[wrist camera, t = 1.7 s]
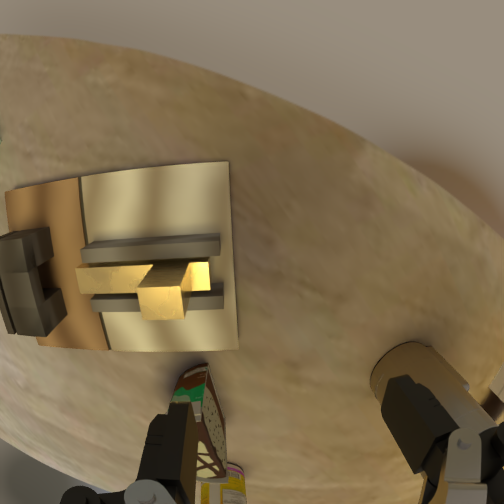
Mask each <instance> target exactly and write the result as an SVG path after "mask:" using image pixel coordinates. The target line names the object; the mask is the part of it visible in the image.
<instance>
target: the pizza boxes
mask: <svg viewBox="0 0 504 504" xmlns="http://www.w3.org/2000/svg"><path fill="white" fill-rule="evenodd" d="M489 388H490V389H491V390H492V391H493V392H494V393H495V394H496V395H497V396H498V397H499V398H500V399H501V401H502V402H503V403H504V362H503V364H502V366H501V367H500V369H499V371H498V372H497V374H496V376H495V377H494V379H493V381H492V382H491V384H490V385H489ZM498 426H499V425H498Z"/></svg>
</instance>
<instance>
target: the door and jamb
mask: <svg viewBox="0 0 504 504" xmlns="http://www.w3.org/2000/svg"><path fill="white" fill-rule="evenodd" d="M5 201H6V210H7V218H8V225H9V232H10V233H7V234H5V235H2V236H0V310H1V314H2V317H3V320H4V323H5V326H6V329H7V331H8V334H15V333H16V332H17V334H18V335H26V336H36V339H37V342H38V344H39V345H41V346H51V347H62V348H75V349H90V350H109V349H110V350H112V351H146V352H177V351H215V350H235V349H239V346H238V331H237V315H236V299H235V283H234V265H233V247H232V228H231V207H230V185H229V162H228V161H226V162H209V163H194V164H182V165H170V166H160V167H150V168H141V169H132V170H124V171H117V172H109V173H102V174H96V175H89V176H83V177H77V178H71V179H65V180H60V181H54V182H49V183H44V184H39V185H34V186H29V187H24V188H20V189H15V190H11V191H7V192H5ZM209 256H210V264H211V276H212V282H211V289H210V290H200V291H192V294H191V297H190V301H189V305H188V308H187V312H186V316H185V319H176V320H142V315H141V310H140V305H139V299H138V294H137V293H106V294H80V290H79V286H78V281H77V276H76V271H75V268H76V267H78V266H79V265H80V264H82V263H95V262H115V261H134V260H153V259H172V258H190V257H209Z"/></svg>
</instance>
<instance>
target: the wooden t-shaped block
mask: <svg viewBox="0 0 504 504" xmlns="http://www.w3.org/2000/svg"><path fill="white" fill-rule="evenodd" d="M75 271H76V276H77V281H78V286H79V290H80V294H106V293H137V294H138V299H139V305H140V310H141V315H142V320H176V319H185V316H186V312H187V308H188V305H189V301H190V297H191V294H192V291H200V290H210V289H211V282H212V276H211V264H210V256H209V257H190V258H172V259H153V260H134V261H115V262H95V263H82V264H80V265H79V266H78V267H76V268H75Z"/></svg>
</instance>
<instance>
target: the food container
mask: <svg viewBox="0 0 504 504" xmlns="http://www.w3.org/2000/svg"><path fill="white" fill-rule="evenodd" d="M171 401H191V403H192V407H193V411H194V415H195V420H196V424H197V428H198V455H197V471H196V481H200V482H205V483H216V484H224V483H228V480H229V471H228V469H227V450H226V428H225V416H224V413H223V410H222V407H221V404H220V400H219V397H218V394H217V391H216V388H215V384H214V381H213V378H212V374H211V371H210V367H209V364H208V363H205V364H200V365H197V366H195V367H192V368H190V369H188V370H187V371H186V372H185V373H184V374H182V375H181V376H180V378H179V380H178V382H177V385H176V387H175V390H174V393H173V397H172V400H171ZM168 410H169V409H168ZM165 414H166V415H168V412H166V413H165Z"/></svg>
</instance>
